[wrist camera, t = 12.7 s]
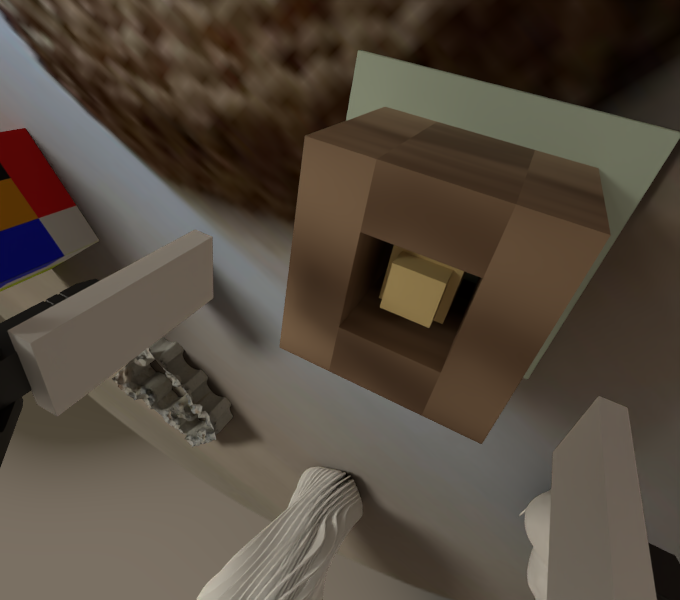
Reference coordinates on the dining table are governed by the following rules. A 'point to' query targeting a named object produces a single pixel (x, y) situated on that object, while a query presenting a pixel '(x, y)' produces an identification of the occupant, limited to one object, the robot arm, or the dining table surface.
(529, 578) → the white animal figurine
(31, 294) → the dining table surface
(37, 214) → the puzzle toy
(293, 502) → the shell sculpture
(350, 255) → the hollow square sleeve
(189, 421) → the grey piece
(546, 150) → the square base plate
